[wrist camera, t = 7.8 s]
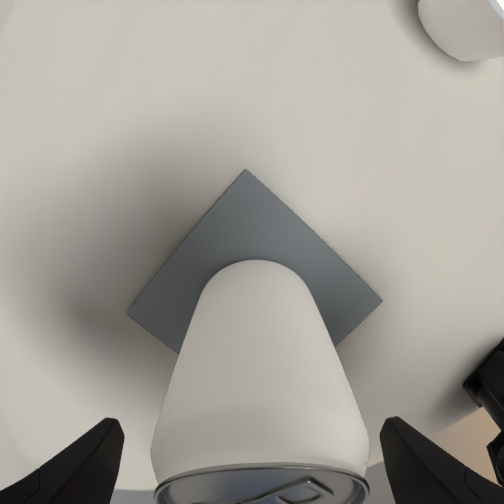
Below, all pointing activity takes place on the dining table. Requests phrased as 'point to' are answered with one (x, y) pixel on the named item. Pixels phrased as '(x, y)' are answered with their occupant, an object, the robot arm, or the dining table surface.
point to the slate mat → (251, 248)
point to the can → (259, 401)
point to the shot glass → (465, 27)
